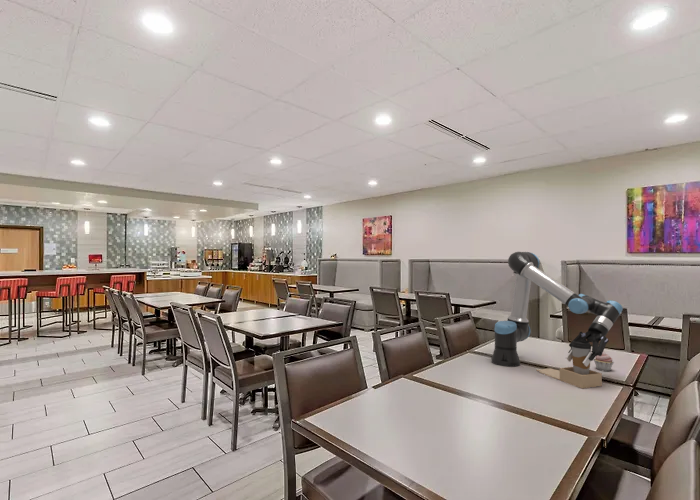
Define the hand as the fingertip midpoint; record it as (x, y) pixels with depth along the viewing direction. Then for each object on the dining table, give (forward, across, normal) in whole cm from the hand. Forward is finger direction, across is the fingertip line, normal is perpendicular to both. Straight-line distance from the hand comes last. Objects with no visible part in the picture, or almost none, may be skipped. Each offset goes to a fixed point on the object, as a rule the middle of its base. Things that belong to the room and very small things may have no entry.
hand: (576, 362), depth 174 cm
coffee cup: (+2, 0, -6) cm, 7 cm away
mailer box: (+5, +8, -10) cm, 14 cm away
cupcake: (-18, +14, -34) cm, 41 cm away
